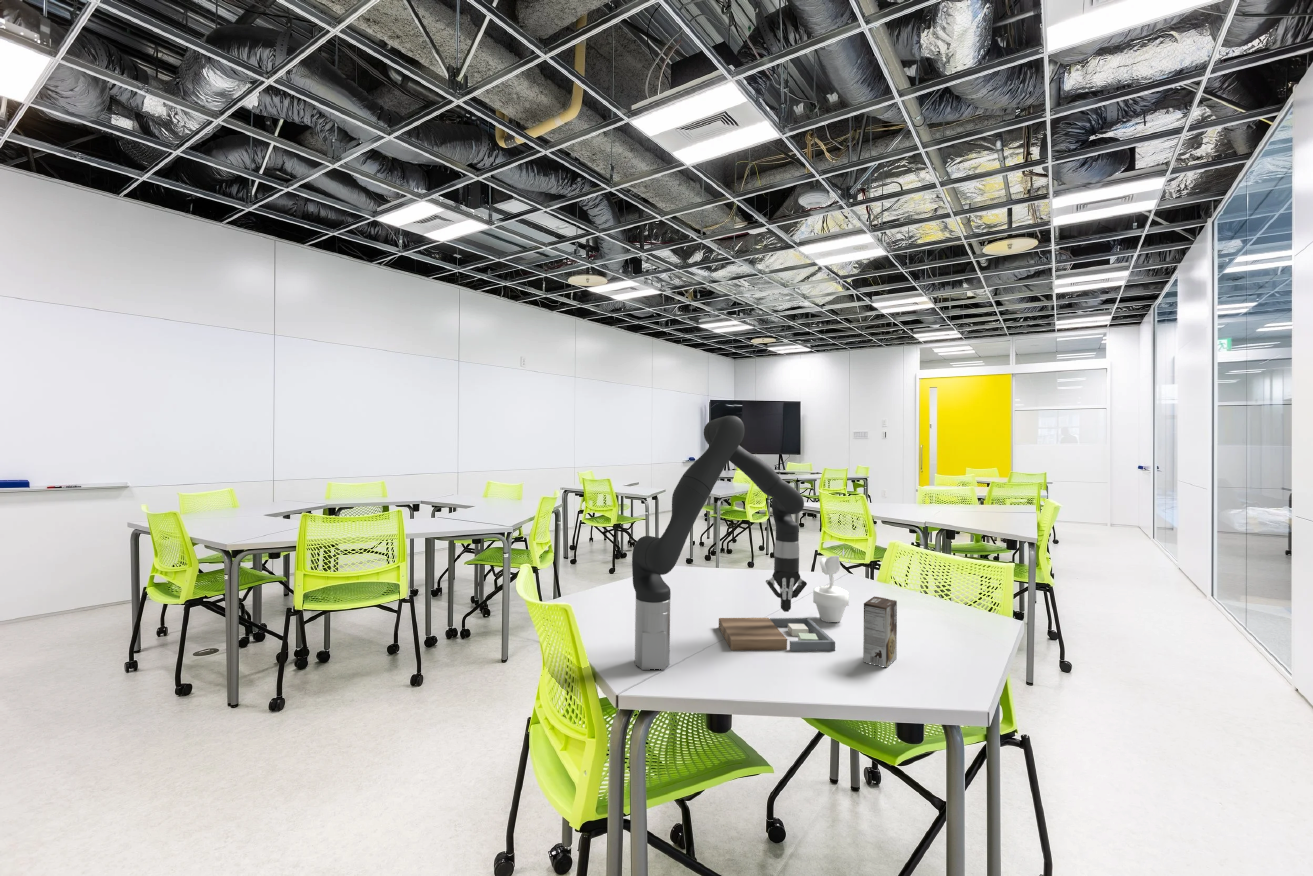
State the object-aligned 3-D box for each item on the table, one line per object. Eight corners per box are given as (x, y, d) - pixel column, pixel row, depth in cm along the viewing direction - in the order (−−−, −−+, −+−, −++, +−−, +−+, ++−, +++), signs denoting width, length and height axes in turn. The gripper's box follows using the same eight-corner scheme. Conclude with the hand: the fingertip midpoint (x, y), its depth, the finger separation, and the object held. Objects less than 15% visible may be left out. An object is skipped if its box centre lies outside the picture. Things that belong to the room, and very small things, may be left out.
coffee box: (873, 653, 160) (874, 595, 160) (897, 659, 156) (897, 600, 156) (862, 662, 153) (862, 602, 153) (886, 668, 149) (887, 607, 149)
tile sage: (800, 638, 165) (800, 647, 165) (818, 639, 164) (818, 648, 164) (798, 632, 170) (798, 641, 170) (815, 633, 169) (815, 642, 169)
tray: (835, 650, 162) (835, 641, 162) (790, 651, 161) (791, 642, 161) (808, 625, 184) (808, 617, 184) (769, 625, 183) (769, 618, 183)
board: (786, 649, 162) (787, 639, 162) (731, 650, 161) (731, 639, 161) (768, 627, 182) (768, 617, 182) (718, 627, 181) (718, 618, 181)
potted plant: (853, 626, 184) (854, 548, 184) (817, 625, 184) (818, 548, 184) (841, 614, 197) (842, 542, 197) (808, 613, 197) (808, 541, 197)
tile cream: (792, 628, 173) (792, 637, 173) (808, 629, 174) (808, 637, 174) (787, 623, 178) (787, 631, 178) (803, 623, 179) (803, 631, 179)
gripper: (768, 557, 172) (767, 614, 172) (811, 557, 173) (810, 614, 173) (762, 552, 180) (761, 607, 180) (803, 553, 181) (802, 607, 181)
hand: (785, 611), depth 176 cm, fingers closed
